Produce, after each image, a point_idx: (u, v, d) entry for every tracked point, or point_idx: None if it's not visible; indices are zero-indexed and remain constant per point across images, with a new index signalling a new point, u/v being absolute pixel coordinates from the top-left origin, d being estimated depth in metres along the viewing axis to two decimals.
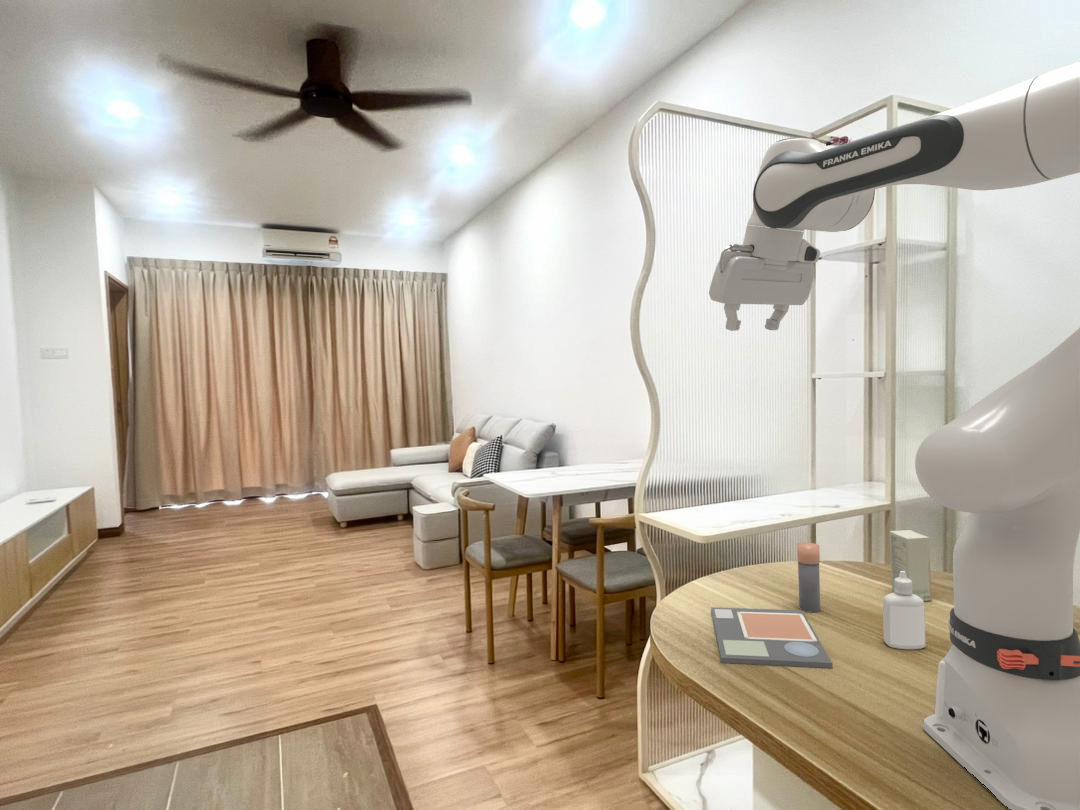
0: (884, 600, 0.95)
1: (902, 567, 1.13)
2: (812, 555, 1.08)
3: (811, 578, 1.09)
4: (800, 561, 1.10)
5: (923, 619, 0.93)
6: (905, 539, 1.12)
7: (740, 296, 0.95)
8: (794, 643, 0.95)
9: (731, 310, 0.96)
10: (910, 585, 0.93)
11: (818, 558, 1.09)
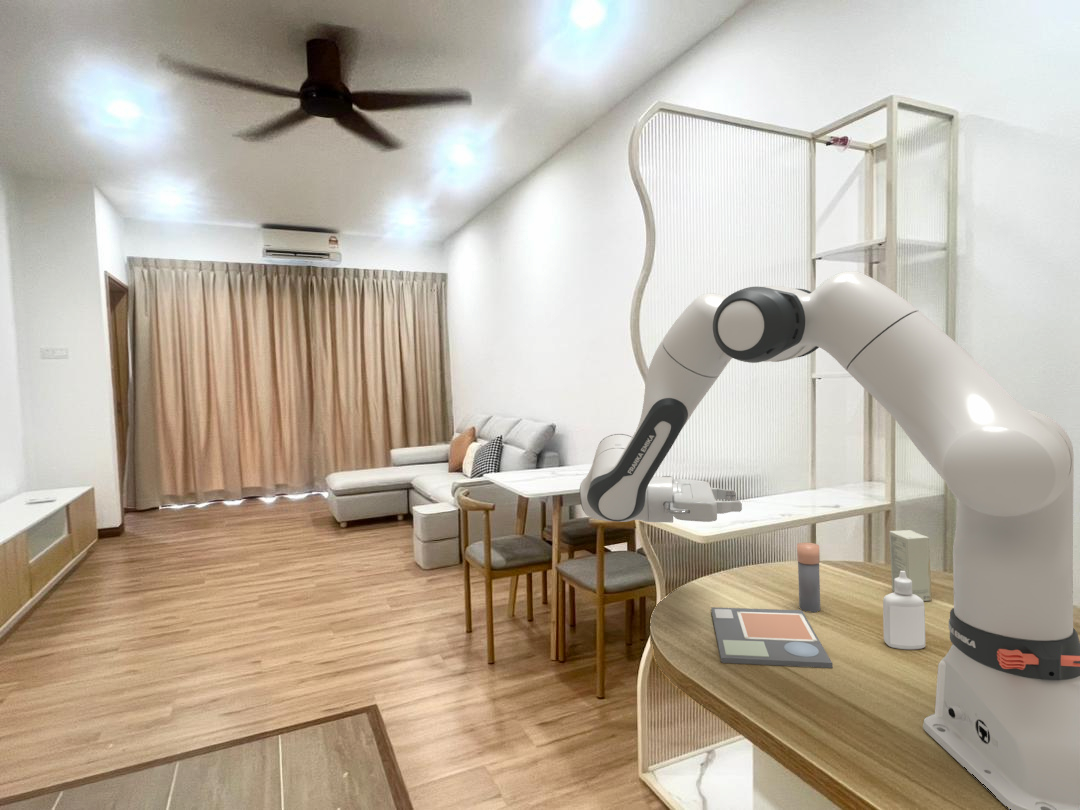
0: (884, 600, 0.95)
1: (902, 567, 1.13)
2: (813, 555, 1.08)
3: (811, 578, 1.09)
4: (800, 561, 1.10)
5: (923, 619, 0.93)
6: (905, 539, 1.12)
7: (708, 497, 1.07)
8: (794, 643, 0.95)
9: (722, 504, 1.07)
10: (910, 585, 0.93)
11: (818, 558, 1.09)
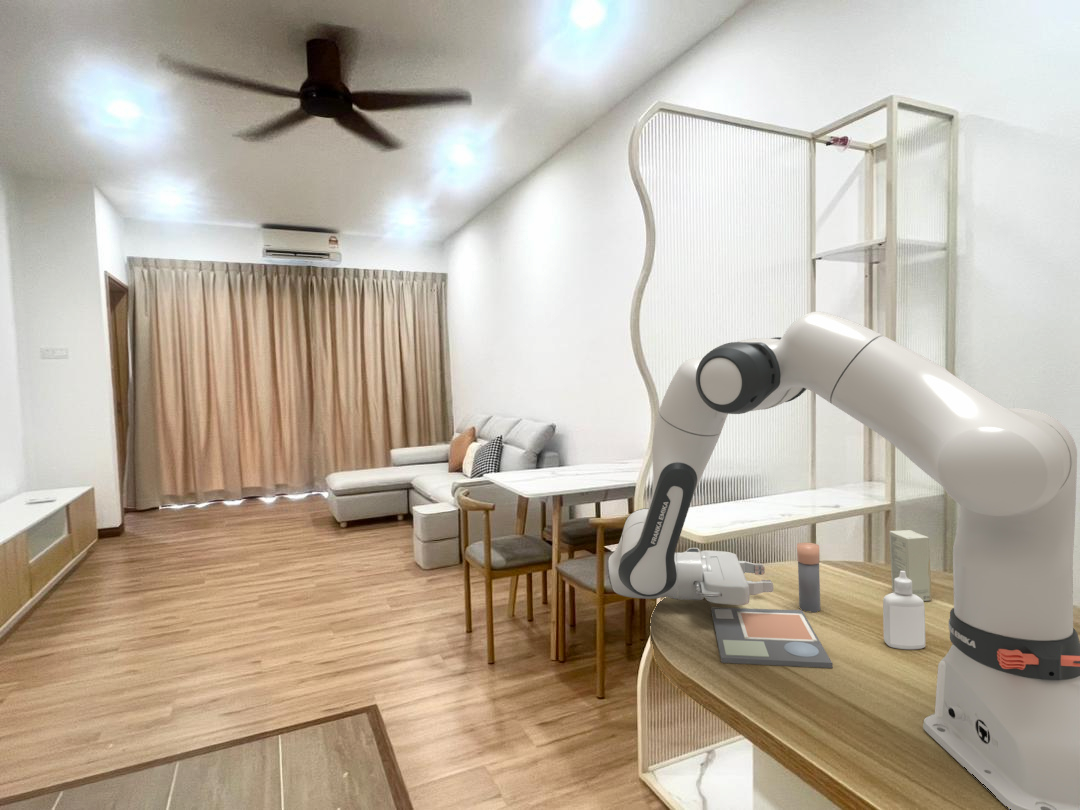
0: (884, 600, 0.95)
1: (902, 567, 1.13)
2: (812, 555, 1.08)
3: (811, 578, 1.09)
4: (800, 561, 1.10)
5: (923, 619, 0.93)
6: (905, 539, 1.12)
7: (739, 578, 1.07)
8: (794, 643, 0.95)
9: (754, 585, 1.06)
10: (910, 585, 0.93)
11: (818, 558, 1.09)
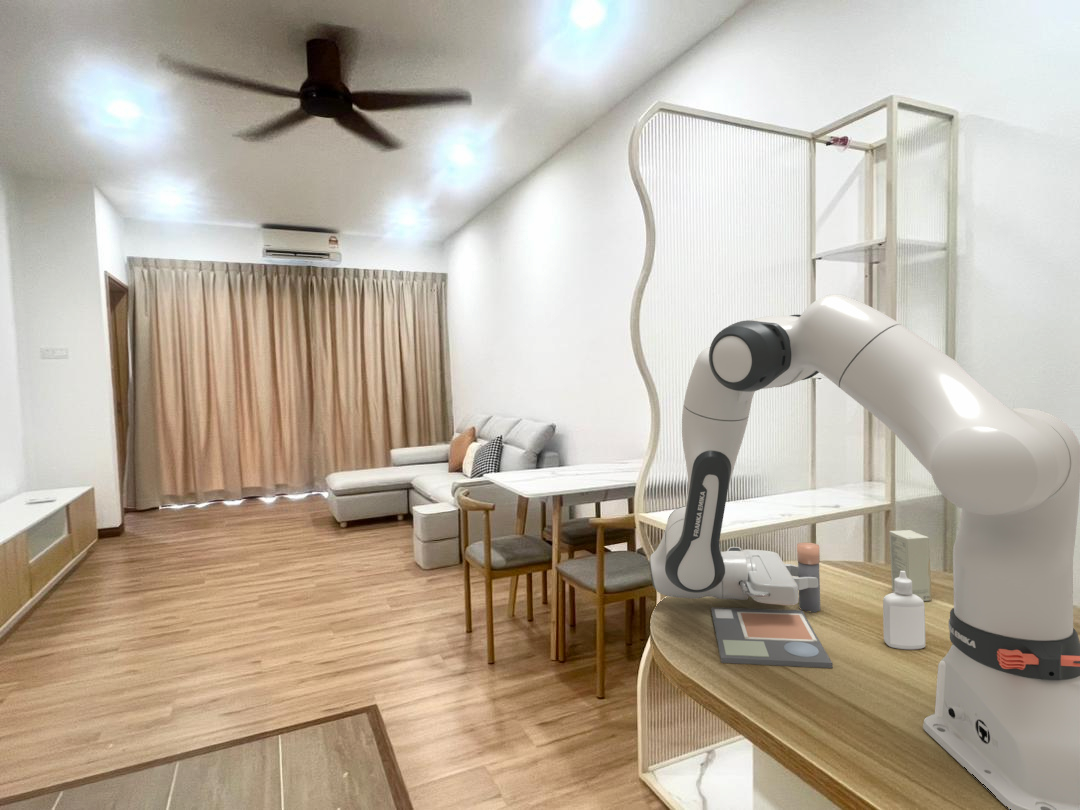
0: (884, 600, 0.95)
1: (902, 567, 1.13)
2: (813, 555, 1.08)
3: None
4: (800, 561, 1.10)
5: (923, 619, 0.93)
6: (905, 539, 1.12)
7: (786, 578, 1.05)
8: (794, 643, 0.95)
9: (799, 580, 1.07)
10: (910, 585, 0.93)
11: (818, 558, 1.09)
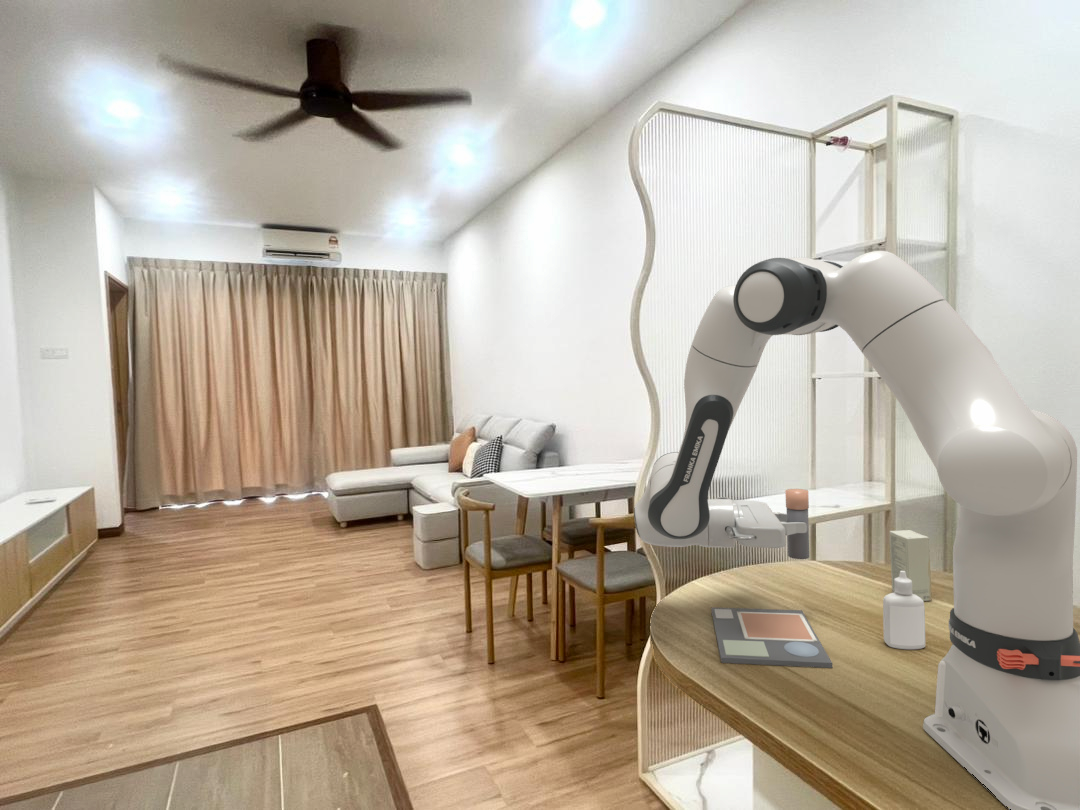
0: (884, 600, 0.95)
1: (902, 567, 1.13)
2: (801, 500, 1.05)
3: None
4: (788, 507, 1.06)
5: (923, 619, 0.93)
6: (905, 539, 1.12)
7: (774, 522, 1.02)
8: (794, 643, 0.95)
9: (787, 525, 1.04)
10: (910, 585, 0.93)
11: (807, 503, 1.06)
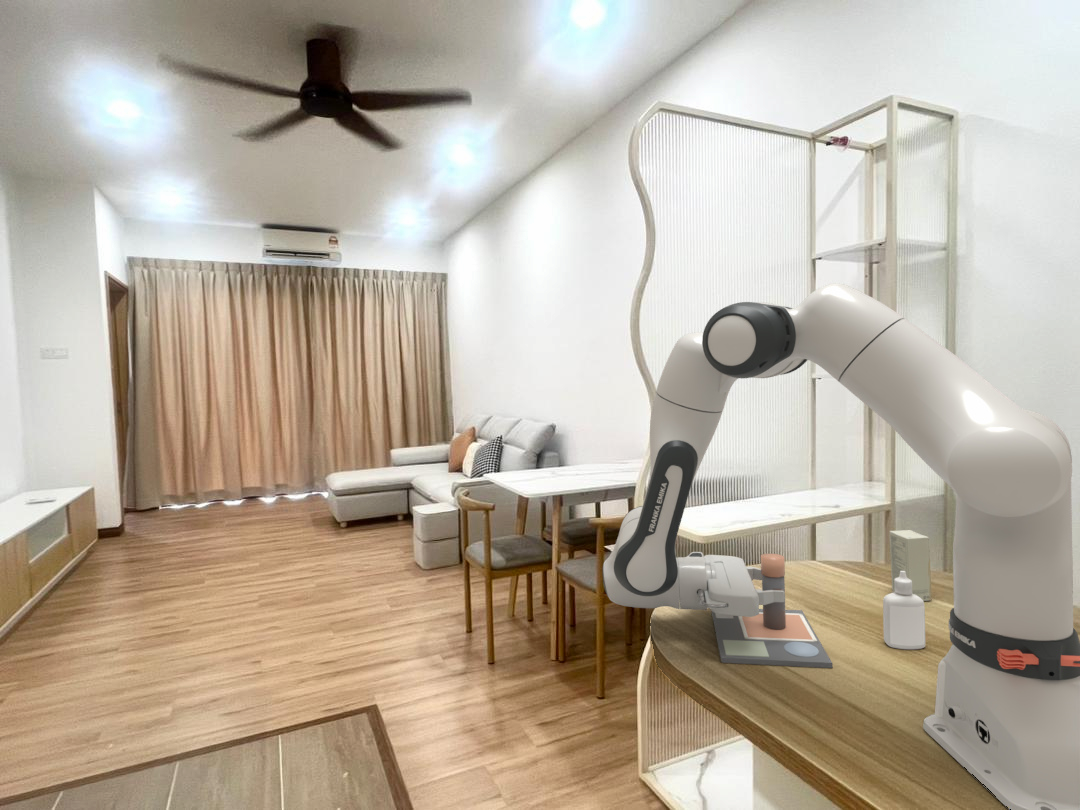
0: (884, 600, 0.95)
1: (902, 567, 1.13)
2: (777, 567, 1.00)
3: None
4: (764, 574, 1.01)
5: (923, 619, 0.93)
6: (905, 539, 1.12)
7: (747, 587, 0.96)
8: (794, 643, 0.95)
9: (764, 594, 0.96)
10: (910, 585, 0.93)
11: (783, 571, 1.00)
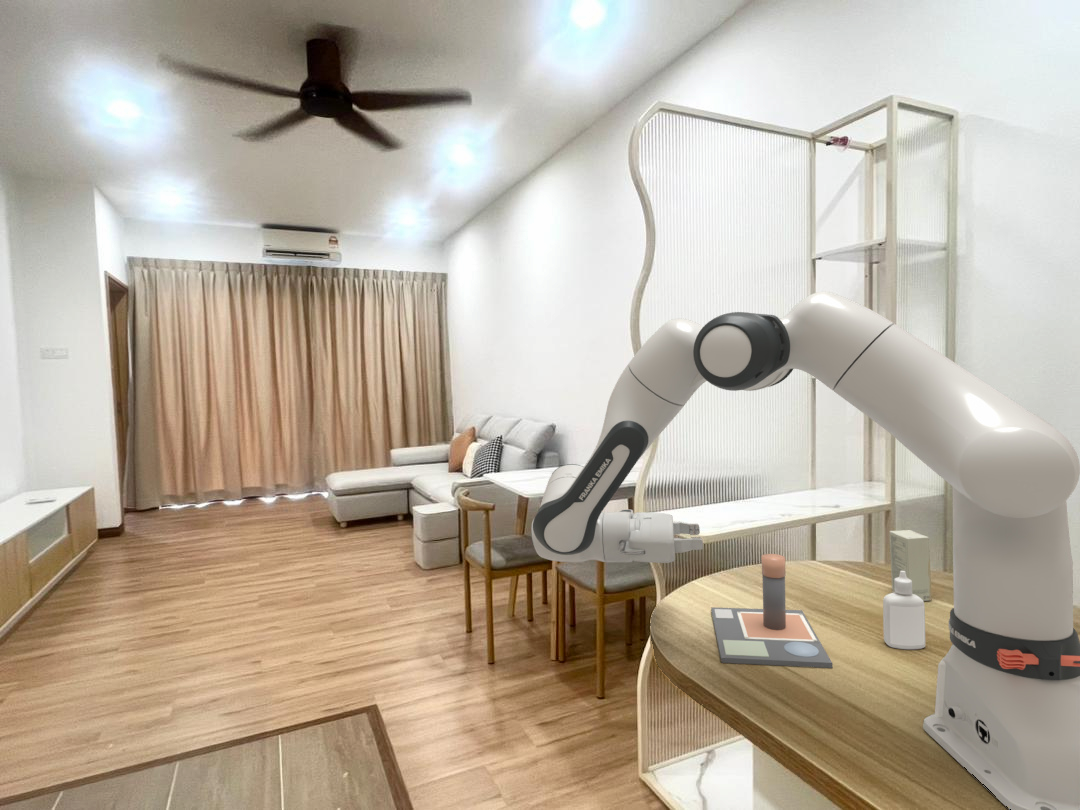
0: (884, 600, 0.95)
1: (902, 567, 1.13)
2: (778, 568, 1.00)
3: (776, 593, 1.00)
4: (764, 574, 1.01)
5: (923, 619, 0.93)
6: (905, 539, 1.12)
7: (665, 535, 0.98)
8: (794, 643, 0.95)
9: (681, 542, 0.98)
10: (910, 585, 0.93)
11: (784, 571, 1.00)
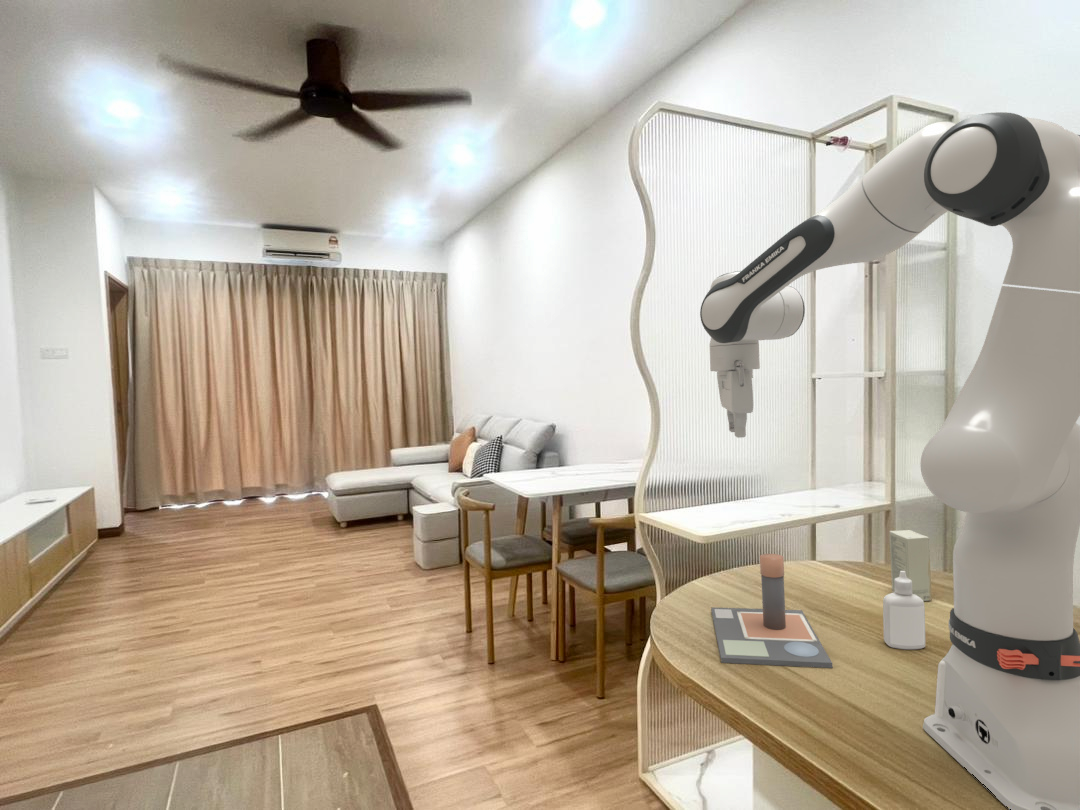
0: (884, 600, 0.95)
1: (902, 567, 1.13)
2: (776, 567, 1.00)
3: (775, 593, 1.00)
4: (763, 574, 1.01)
5: (923, 619, 0.93)
6: (905, 539, 1.12)
7: None
8: (794, 643, 0.95)
9: (744, 418, 1.05)
10: (910, 585, 0.93)
11: (782, 570, 1.00)
